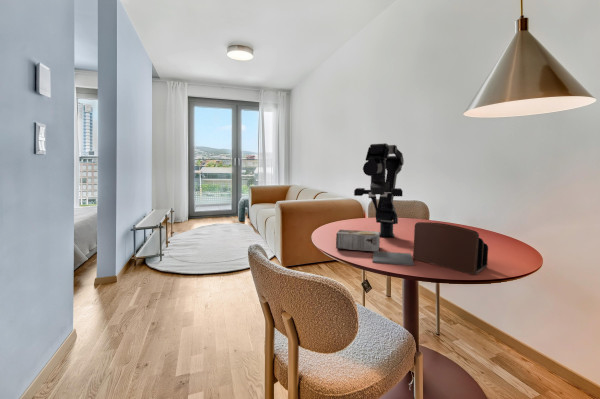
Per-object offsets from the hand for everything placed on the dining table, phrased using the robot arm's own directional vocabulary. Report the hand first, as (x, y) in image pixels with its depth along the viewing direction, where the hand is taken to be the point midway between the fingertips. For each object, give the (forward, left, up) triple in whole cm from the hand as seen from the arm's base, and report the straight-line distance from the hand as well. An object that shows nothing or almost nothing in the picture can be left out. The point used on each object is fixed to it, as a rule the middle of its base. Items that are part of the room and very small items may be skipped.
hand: (377, 212), depth 116 cm
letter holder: (+19, +23, -13) cm, 33 cm away
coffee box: (+9, +1, -10) cm, 13 cm away
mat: (+18, +5, -13) cm, 23 cm away
